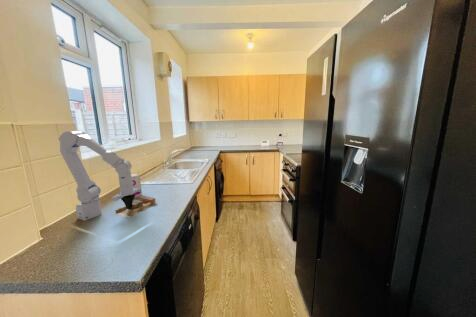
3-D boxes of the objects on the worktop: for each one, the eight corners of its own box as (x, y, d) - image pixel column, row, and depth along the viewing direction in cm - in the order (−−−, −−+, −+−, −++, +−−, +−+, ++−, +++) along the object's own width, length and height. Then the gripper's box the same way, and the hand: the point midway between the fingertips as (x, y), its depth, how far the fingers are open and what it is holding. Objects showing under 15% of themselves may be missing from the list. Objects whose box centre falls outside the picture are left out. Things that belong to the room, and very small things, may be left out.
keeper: (135, 210, 103) (134, 204, 102) (127, 209, 105) (127, 203, 105) (143, 207, 107) (142, 201, 107) (135, 205, 110) (135, 199, 109)
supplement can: (137, 200, 120) (135, 177, 117) (124, 200, 120) (121, 177, 117) (144, 195, 128) (142, 173, 125) (132, 195, 128) (129, 173, 125)
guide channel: (129, 219, 96) (128, 211, 95) (112, 214, 101) (111, 207, 100) (157, 205, 112) (156, 198, 111) (141, 201, 117) (140, 195, 117)
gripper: (117, 189, 92) (121, 215, 95) (143, 181, 105) (145, 204, 108) (108, 187, 95) (112, 213, 98) (134, 179, 108) (137, 202, 111)
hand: (129, 208), depth 103 cm, fingers closed
